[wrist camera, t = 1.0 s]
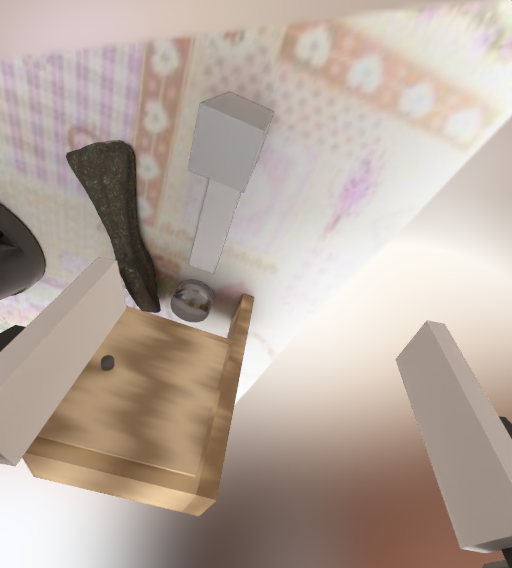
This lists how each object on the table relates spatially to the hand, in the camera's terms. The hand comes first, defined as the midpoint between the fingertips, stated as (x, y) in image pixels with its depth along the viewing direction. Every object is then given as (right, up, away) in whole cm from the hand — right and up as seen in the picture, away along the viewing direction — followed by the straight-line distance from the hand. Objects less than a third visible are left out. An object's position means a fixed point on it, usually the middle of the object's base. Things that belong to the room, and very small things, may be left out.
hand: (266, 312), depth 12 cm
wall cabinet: (-9, 0, +25) cm, 27 cm away
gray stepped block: (-4, +11, +16) cm, 20 cm away
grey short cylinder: (-9, 0, +26) cm, 27 cm away
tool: (-16, +7, +21) cm, 28 cm away
